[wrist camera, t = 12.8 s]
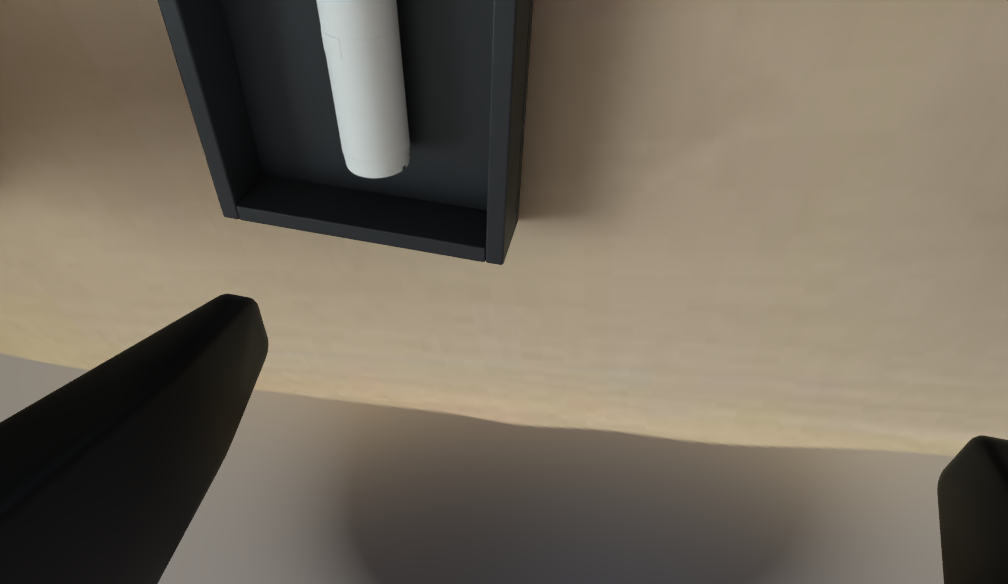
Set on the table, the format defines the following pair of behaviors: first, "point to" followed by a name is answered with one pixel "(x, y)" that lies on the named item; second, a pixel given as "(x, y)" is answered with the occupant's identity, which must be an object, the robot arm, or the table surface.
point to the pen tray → (315, 134)
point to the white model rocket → (367, 84)
